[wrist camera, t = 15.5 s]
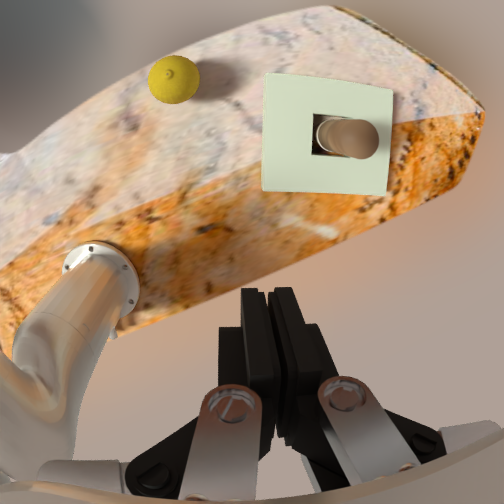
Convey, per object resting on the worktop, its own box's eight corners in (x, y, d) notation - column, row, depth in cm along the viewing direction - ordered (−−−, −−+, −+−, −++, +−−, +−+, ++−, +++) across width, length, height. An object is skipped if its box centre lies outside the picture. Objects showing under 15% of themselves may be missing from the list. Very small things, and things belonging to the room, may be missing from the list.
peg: (339, 150, 36) (377, 161, 26) (309, 148, 36) (340, 158, 26) (340, 121, 35) (380, 121, 25) (310, 118, 35) (342, 116, 25)
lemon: (157, 107, 33) (139, 103, 25) (158, 65, 30) (140, 51, 23) (202, 105, 33) (195, 99, 26) (203, 62, 31) (197, 45, 24)
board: (377, 191, 39) (385, 196, 37) (261, 187, 38) (263, 191, 35) (384, 91, 33) (393, 90, 31) (263, 76, 32) (266, 72, 30)
